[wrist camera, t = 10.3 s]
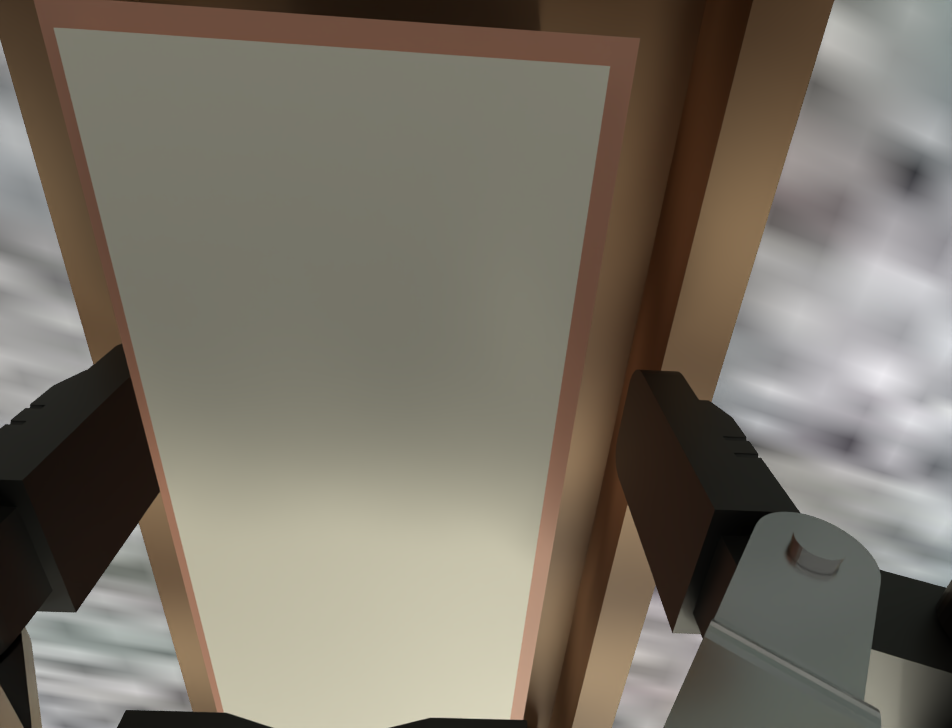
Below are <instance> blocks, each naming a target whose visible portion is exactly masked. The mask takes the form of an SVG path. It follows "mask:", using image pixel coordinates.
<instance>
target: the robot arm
mask: <svg viewBox="0 0 952 728" xmlns="http://www.w3.org/2000/svg"><path fill="white" fill-rule="evenodd" d="M615 457H616V469H617V474H618V478H619V481H620V484H621V486H622V489H623V492H624V495H625V498H626V501H627V504H628V506H629V509H630V512H631V515H632V518H633V521H634V524H635V527H636V529H637V532H638V535H639V538H640V541H641V544H642V547H643V550H644V552H645V555H646V558H647V561H648V564H649V567H650V570H651V573H652V575H653V578H654V581H655V584H656V587H657V590H658V593H659V596H660V598H661V601H662V604H663V607H664V610H665V613H666V616H667V619H668V621H669V624H670V627H671V630H672V633H687V634H701V635H702V638H703V640H702V642H701V645H700V647H699V649H698V651H697V653H696V656H695V658H694V660H693V662H692V665H691V667H690V669H689V671H688V674H687V676H686V678H685V680H684V683H683V685H682V687H681V689H680V692H679V694H678V696H677V698H676V701H675V703H674V705H673V707H672V709H671V712H670V714H669V716H668V718H667V721H666V723H665V725H664V727H663V728H952V580H951V582H950V583H949V585H948V586H947V588H945V587H941V586H938V585H934V584H930V583H926V582H923V581H919V580H915V579H912V578H908V577H904V576H900V575H897V574H893V573H889V572H886V571H882V570H879V567H878V565H877V563H876V561H875V559H874V558H873V557H872V555H871V554H870V553H869V551H868V550H867V549H866V548H865V547H864V546H863V545H862V544H861V543H859V542H858V541H857V540H856V539H855V538H854V537H852V536H851V535H849V534H848V533H846V532H845V531H843V530H842V529H840V528H838V527H836V526H835V525H833V524H830V523H828V522H826V521H824V520H821V519H819V518H816V517H813V516H809V515H806V514H801V513H800V512H799V510H798V509H797V508H796V506H795V505H794V503H793V502H792V501H791V499H790V498H789V496H788V495H787V494H786V492H785V491H784V489H783V488H782V487H781V485H780V484H779V482H778V481H777V480H776V478H775V477H774V475H773V474H772V473H771V471H770V470H769V468H768V467H767V466H766V464H765V463H764V461H763V460H762V458H758V453H757V451H756V450H755V449H754V447H753V446H752V444H751V443H750V442H749V441H746V436H745V435H744V433H743V432H742V430H741V429H740V428H739V426H738V425H737V423H736V422H735V421H734V419H733V418H732V417H731V416H729V415H728V414H727V413H725V412H724V411H723V410H721V409H720V408H718V407H717V406H716V405H714V404H713V403H712V402H710V401H709V400H699V399H698V398H697V396H696V395H695V393H694V391H693V390H692V388H691V387H690V385H689V384H688V382H687V381H686V379H685V378H684V376H683V375H682V374H681V373H680V372H678V371H660V370H639V369H637V370H635V371H634V373H633V374H632V376H631V379H630V383H629V387H628V392H627V396H626V401H625V405H624V410H623V415H622V419H621V424H620V428H619V433H618V437H617V443H616V456H615ZM159 493H160V488H159V485H158V481H157V477H156V473H155V469H154V465H153V461H152V457H151V453H150V450H149V446H148V442H147V438H146V434H145V430H144V426H143V422H142V419H141V415H140V411H139V407H138V403H137V399H136V395H135V391H134V388H133V384H132V380H131V376H130V372H129V368H128V364H127V360H126V357H125V353H124V349H123V345H122V344H119V345H117V346H115V347H114V348H113V349H112V350H110V351H109V352H108V353H107V354H106V355H105V356H103V357H102V358H101V359H100V360H99V361H97V362H96V363H95V364H94V365H93V366H91V367H90V368H89V369H88V370H85V371H83V372H81V373H79V374H77V375H75V376H73V377H70V378H68V379H66V380H64V381H62V382H60V383H58V384H56V385H54V386H52V387H51V388H50V389H48V390H47V391H46V392H45V393H44V394H42V395H41V396H40V397H39V398H37V399H36V400H35V401H34V402H32V403H31V404H30V408H25V409H24V410H23V411H21V412H20V413H19V414H18V415H16V416H15V417H14V418H13V419H12V420H11V423H10V425H8V424H5V425H4V426H3V427H2V428H0V728H42V723H41V715H40V707H39V699H38V691H37V683H36V675H35V667H34V659H33V651H32V643H31V639H30V636H29V634H28V632H27V630H26V628H25V626H26V625H27V624H28V622H29V621H30V620H31V618H32V617H33V616H34V615H35V613H36V612H37V611H46V612H77V610H78V609H79V607H80V606H81V604H82V603H83V602H84V600H85V599H86V597H87V596H88V594H89V593H90V592H91V590H92V589H93V587H94V586H95V584H96V583H97V581H98V580H99V579H100V577H101V576H102V574H103V573H104V571H105V570H106V569H107V567H108V566H109V564H110V563H111V561H112V560H113V559H114V557H115V556H116V554H117V553H118V551H119V550H120V548H121V547H122V546H123V544H124V543H125V541H126V540H127V538H128V537H129V536H130V534H131V533H132V531H133V530H134V528H135V527H136V526H137V524H138V523H139V521H140V520H141V518H142V517H143V515H144V514H145V513H146V511H147V510H148V508H149V507H150V505H151V504H152V503H153V501H154V500H155V498H156V497H157V495H158V494H159ZM117 728H273V727H269V726H266V725H263V724H260V723H257V722H254V721H251V720H248V719H245V718H242V717H238V716H235V715H232V714H229V713H222V712H181V711H140V710H126V711H125V713H124V715H123V717H122V719H121V721H120V723H119V725H118V727H117ZM390 728H527V720H509V719H468V718H427V719H422V720H418V721H414V722H410V723H406V724H402V725H398V726H394V727H390Z"/></svg>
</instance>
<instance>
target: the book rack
mask: <svg viewBox="0 0 952 728" xmlns="http://www.w3.org/2000/svg"><path fill="white" fill-rule="evenodd" d="M113 1H127V2H141V3H155V4H169V5H183V6H197V7H211V8H225V9H239V10H253V11H266V12H280V13H294V14H308V15H322V16H336V17H350V18H364V19H378V20H392V21H406V22H420V23H434V24H448V25H462V26H476V27H490V28H504V29H518V30H532V31H546V32H560V33H574V34H588V35H601V36H615V37H629V38H640V43H639V49H638V54H637V60H636V66H635V72H634V78H633V83H632V89H631V95H630V101H629V107H628V113H627V118H626V124H625V130H624V136H623V142H622V147H621V153H620V159H619V165H618V171H617V177H616V182H615V188H614V194H613V200H612V206H611V211H610V217H609V223H608V229H607V235H606V241H605V246H604V252H603V258H602V264H601V270H600V275H599V281H598V287H597V293H596V299H595V305H594V310H593V316H592V322H591V328H590V334H589V339H588V345H587V351H586V357H585V363H584V368H583V374H582V380H581V386H580V392H579V398H578V403H577V409H576V415H575V421H574V427H573V432H572V438H571V444H570V450H569V456H568V462H567V467H566V473H565V479H564V485H563V491H562V496H561V502H560V508H559V514H558V520H557V526H556V531H555V537H554V543H553V549H552V555H551V560H550V566H549V572H548V578H547V584H546V590H545V595H544V601H543V607H542V613H541V619H540V624H539V630H538V636H537V642H536V648H535V654H534V659H533V665H532V671H531V677H530V683H529V688H528V694H527V700H526V706H525V712H524V718H523V720H527V728H612V725H613V722H614V718H615V715H616V712H617V709H618V705H619V702H620V699H621V696H622V692H623V689H624V686H625V682H626V679H627V676H628V673H629V669H630V666H631V663H632V660H633V656H634V653H635V650H636V647H637V643H638V640H639V637H640V633H641V630H642V627H643V624H644V620H645V617H646V614H647V611H648V607H649V604H650V601H651V597H652V594H653V591H654V588H655V581H654V578H653V575H652V573H651V570H650V567H649V564H648V561H647V558H646V555H645V552H644V550H643V547H642V544H641V541H640V538H639V535H638V532H637V529H636V527H635V524H634V521H633V518H632V515H631V512H630V509H629V506H628V504H627V501H626V498H625V495H624V492H623V489H622V486H621V484H620V481H619V478H618V474H617V469H616V457H615V456H616V443H617V437H618V433H619V428H620V424H621V419H622V415H623V410H624V405H625V401H626V396H627V392H628V387H629V383H630V379H631V376H632V374H633V373H634V371H635V370H637V369H639V370H660V371H678V372H680V373H681V374H682V375H683V376H684V378H685V379H686V381H687V382H688V384H689V385H690V387H691V388H692V390H693V391H694V393H695V395H696V396H697V398H698V399H699V400H709V401H710V402H711V401H712V398H713V395H714V391H715V388H716V385H717V382H718V378H719V375H720V372H721V369H722V365H723V362H724V359H725V355H726V352H727V349H728V346H729V342H730V339H731V336H732V333H733V329H734V326H735V323H736V319H737V316H738V313H739V310H740V306H741V303H742V300H743V297H744V293H745V290H746V287H747V284H748V280H749V277H750V274H751V270H752V267H753V264H754V261H755V257H756V254H757V251H758V248H759V244H760V241H761V238H762V234H763V231H764V228H765V225H766V221H767V218H768V215H769V212H770V208H771V205H772V202H773V198H774V195H775V192H776V189H777V185H778V182H779V179H780V176H781V172H782V169H783V166H784V163H785V159H786V156H787V153H788V149H789V146H790V143H791V140H792V136H793V133H794V130H795V127H796V123H797V120H798V117H799V113H800V110H801V107H802V104H803V100H804V97H805V94H806V91H807V87H808V84H809V81H810V77H811V74H812V71H813V68H814V64H815V61H816V58H817V55H818V51H819V48H820V45H821V42H822V38H823V35H824V32H825V28H826V25H827V22H828V19H829V15H830V12H831V9H832V6H833V2H834V0H113ZM0 40H1V43H2V47H3V50H4V54H5V57H6V61H7V64H8V68H9V71H10V75H11V78H12V82H13V85H14V89H15V92H16V96H17V99H18V103H19V106H20V110H21V113H22V117H23V120H24V124H25V127H26V131H27V134H28V138H29V141H30V145H31V148H32V152H33V155H34V159H35V162H36V166H37V169H38V173H39V176H40V180H41V183H42V186H43V190H44V193H45V197H46V200H47V204H48V207H49V211H50V214H51V218H52V221H53V225H54V228H55V232H56V235H57V239H58V242H59V246H60V249H61V253H62V256H63V260H64V263H65V267H66V270H67V274H68V277H69V281H70V284H71V288H72V291H73V295H74V298H75V302H76V305H77V309H78V312H79V316H80V319H81V323H82V326H83V330H84V333H85V337H86V340H87V344H88V347H89V351H90V354H91V358H92V361H93V364H95V363H96V362H97V361H99V360H100V359H101V358H102V357H103V356H105V355H106V354H107V353H108V352H109V351H110V350H112V349H113V348H114V347H115V346H117V345H119V344H122V341H121V337H120V333H119V329H118V326H117V322H116V318H115V314H114V310H113V306H112V302H111V298H110V295H109V291H108V287H107V283H106V279H105V275H104V271H103V267H102V264H101V260H100V256H99V252H98V248H97V244H96V240H95V236H94V233H93V229H92V225H91V221H90V217H89V213H88V209H87V205H86V201H85V198H84V194H83V190H82V186H81V182H80V178H79V174H78V170H77V167H76V163H75V159H74V155H73V151H72V147H71V143H70V139H69V136H68V132H67V128H66V124H65V120H64V116H63V112H62V108H61V105H60V101H59V97H58V93H57V89H56V85H55V81H54V77H53V74H52V70H51V66H50V62H49V58H48V54H47V50H46V46H45V43H44V39H43V35H42V31H41V27H40V23H39V19H38V15H37V12H36V8H35V4H34V0H0ZM139 525H140V529H141V532H142V536H143V539H144V543H145V546H146V549H147V553H148V556H149V560H150V563H151V567H152V570H153V574H154V577H155V581H156V584H157V588H158V591H159V595H160V598H161V602H162V605H163V609H164V612H165V616H166V619H167V623H168V626H169V630H170V633H171V637H172V640H173V644H174V647H175V651H176V654H177V658H178V661H179V665H180V668H181V672H182V675H183V679H184V682H185V686H186V689H187V693H188V696H189V700H190V703H191V707H192V710H193V712H217V709H216V705H215V702H214V698H213V694H212V690H211V686H210V682H209V678H208V674H207V671H206V667H205V663H204V659H203V655H202V651H201V647H200V643H199V640H198V636H197V632H196V628H195V624H194V620H193V616H192V612H191V609H190V605H189V601H188V597H187V593H186V589H185V585H184V581H183V578H182V574H181V570H180V566H179V562H178V558H177V554H176V550H175V547H174V543H173V539H172V535H171V531H170V527H169V523H168V519H167V516H166V512H165V508H164V504H163V500H162V496H161V492H160V493H159V494H158V495H157V497H156V498H155V500H154V501H153V503H152V504H151V505H150V507H149V508H148V510H147V511H146V513H145V514H144V515H143V517H142V518H141V520H140V521H139Z"/></svg>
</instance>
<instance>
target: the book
mask: <svg viewBox="0 0 952 728" xmlns="http://www.w3.org/2000/svg"><path fill="white" fill-rule="evenodd" d="M34 4H35V8H36V12H37V15H38V19H39V23H40V27H41V31H42V35H43V39H44V43H45V46H46V50H47V54H48V58H49V62H50V66H51V70H52V74H53V77H54V81H55V85H56V89H57V93H58V97H59V101H60V105H61V108H62V112H63V116H64V120H65V124H66V128H67V132H68V136H69V139H70V143H71V147H72V151H73V155H74V159H75V163H76V167H77V170H78V174H79V178H80V182H81V186H82V190H83V194H84V198H85V201H86V205H87V209H88V213H89V217H90V221H91V225H92V229H93V233H94V236H95V240H96V244H97V248H98V252H99V256H100V260H101V264H102V267H103V271H104V275H105V279H106V283H107V287H108V291H109V295H110V298H111V302H112V306H113V310H114V314H115V318H116V322H117V326H118V329H119V333H120V337H121V341H122V345H123V349H124V353H125V357H126V360H127V364H128V368H129V372H130V376H131V380H132V384H133V388H134V391H135V395H136V399H137V403H138V407H139V411H140V415H141V419H142V422H143V426H144V430H145V434H146V438H147V442H148V446H149V450H150V453H151V457H152V461H153V465H154V469H155V473H156V477H157V481H158V485H159V488H160V492H161V496H162V500H163V504H164V508H165V512H166V516H167V519H168V523H169V527H170V531H171V535H172V539H173V543H174V547H175V550H176V554H177V558H178V562H179V566H180V570H181V574H182V578H183V581H184V585H185V589H186V593H187V597H188V601H189V605H190V609H191V612H192V616H193V620H194V624H195V628H196V632H197V636H198V640H199V643H200V647H201V651H202V655H203V659H204V663H205V667H206V671H207V674H208V678H209V682H210V686H211V690H212V694H213V698H214V702H215V705H216V709H217V712H222V713H229V714H232V715H235V716H238V717H242V718H245V719H248V720H251V721H254V722H257V723H260V724H263V725H266V726H269V727H273V728H390V727H394V726H398V725H402V724H406V723H410V722H414V721H418V720H422V719H427V718H468V719H509V720H523V718H524V712H525V706H526V700H527V694H528V688H529V683H530V677H531V671H532V665H533V659H534V654H535V648H536V642H537V636H538V630H539V624H540V619H541V613H542V607H543V601H544V595H545V590H546V584H547V578H548V572H549V566H550V560H551V555H552V549H553V543H554V537H555V531H556V526H557V520H558V514H559V508H560V502H561V496H562V491H563V485H564V479H565V473H566V467H567V462H568V456H569V450H570V444H571V438H572V432H573V427H574V421H575V415H576V409H577V403H578V398H579V392H580V386H581V380H582V374H583V368H584V363H585V357H586V351H587V345H588V339H589V334H590V328H591V322H592V316H593V310H594V305H595V299H596V293H597V287H598V281H599V275H600V270H601V264H602V258H603V252H604V246H605V241H606V235H607V229H608V223H609V217H610V211H611V206H612V200H613V194H614V188H615V182H616V177H617V171H618V165H619V159H620V153H621V147H622V142H623V136H624V130H625V124H626V118H627V113H628V107H629V101H630V95H631V89H632V83H633V78H634V72H635V66H636V60H637V54H638V49H639V43H640V38H629V37H615V36H601V35H588V34H574V33H560V32H546V31H532V30H518V29H504V28H490V27H476V26H462V25H448V24H434V23H420V22H406V21H392V20H378V19H364V18H350V17H336V16H322V15H308V14H294V13H280V12H266V11H253V10H239V9H225V8H211V7H197V6H183V5H169V4H155V3H141V2H127V1H113V0H34Z"/></svg>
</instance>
